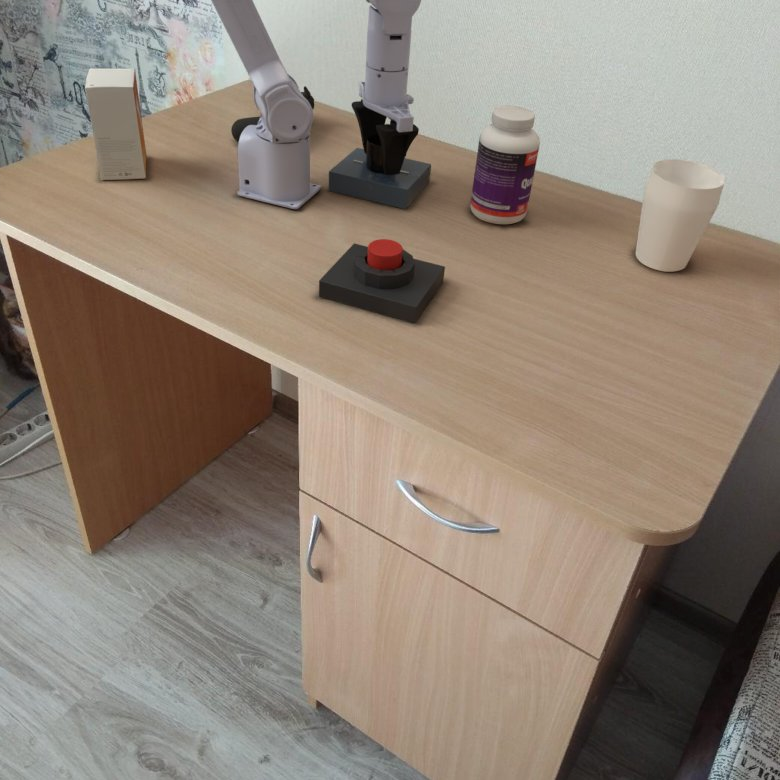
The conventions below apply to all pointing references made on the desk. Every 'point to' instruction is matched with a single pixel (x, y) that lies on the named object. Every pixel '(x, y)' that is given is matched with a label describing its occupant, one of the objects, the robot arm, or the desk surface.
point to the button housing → (382, 284)
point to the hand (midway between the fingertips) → (381, 163)
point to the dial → (374, 154)
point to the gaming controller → (243, 123)
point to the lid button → (384, 254)
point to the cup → (676, 212)
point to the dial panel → (379, 180)
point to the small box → (116, 123)
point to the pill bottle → (505, 166)
